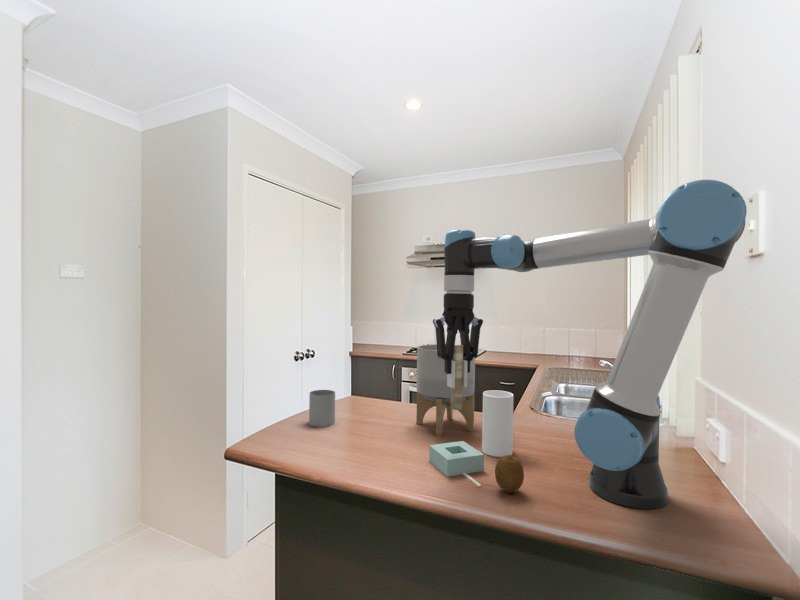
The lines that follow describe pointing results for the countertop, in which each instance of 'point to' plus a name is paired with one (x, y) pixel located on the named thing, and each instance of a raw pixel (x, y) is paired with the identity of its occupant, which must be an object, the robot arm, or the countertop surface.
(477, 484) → the cream stick
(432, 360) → the planter
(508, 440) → the cup
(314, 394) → the cup
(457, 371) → the beige wooden dowel
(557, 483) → the countertop surface
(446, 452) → the bead
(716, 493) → the countertop surface
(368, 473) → the countertop surface
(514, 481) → the fruit
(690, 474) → the countertop surface
